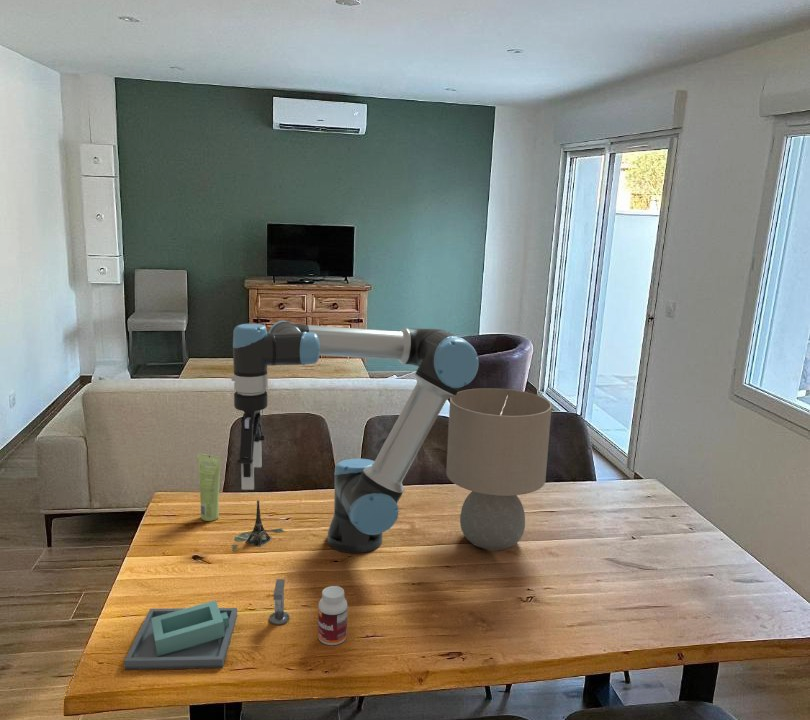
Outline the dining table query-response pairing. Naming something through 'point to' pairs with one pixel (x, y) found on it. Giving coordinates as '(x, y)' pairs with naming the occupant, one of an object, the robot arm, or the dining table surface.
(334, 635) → the pill bottle
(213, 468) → the tube
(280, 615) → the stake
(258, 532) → the eiffel tower figurine
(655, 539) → the dining table surface
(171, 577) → the dining table surface
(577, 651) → the dining table surface
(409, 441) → the robot arm
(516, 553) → the dining table surface
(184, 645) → the ring frame
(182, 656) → the tray
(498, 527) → the lamp
